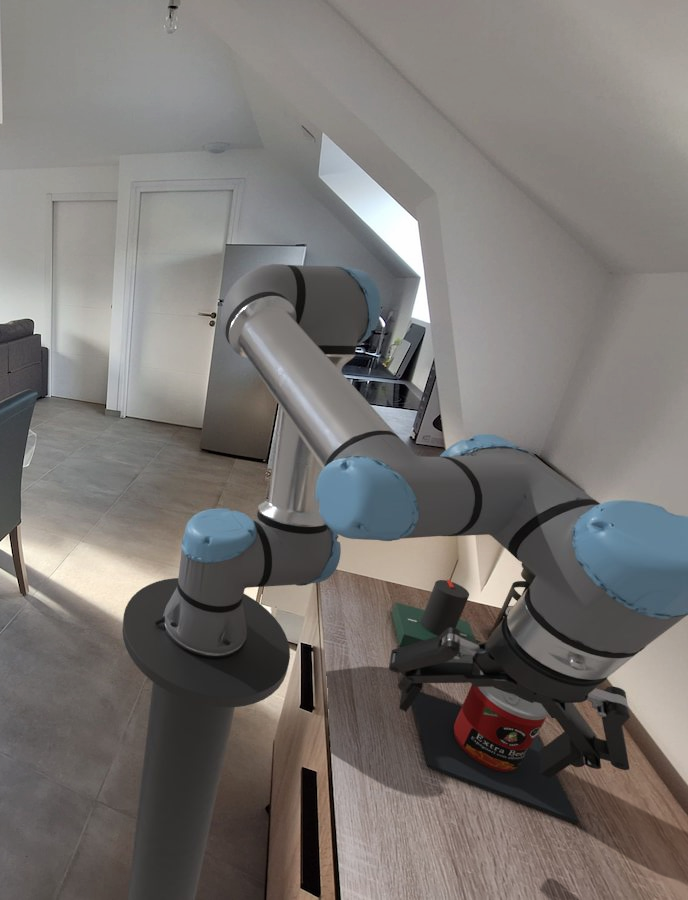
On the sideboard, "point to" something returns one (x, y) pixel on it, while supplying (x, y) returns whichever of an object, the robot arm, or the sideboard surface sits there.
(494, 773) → the mat
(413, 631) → the panel
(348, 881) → the sideboard surface
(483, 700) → the canned food
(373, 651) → the sideboard surface
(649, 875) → the sideboard surface
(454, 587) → the knob
